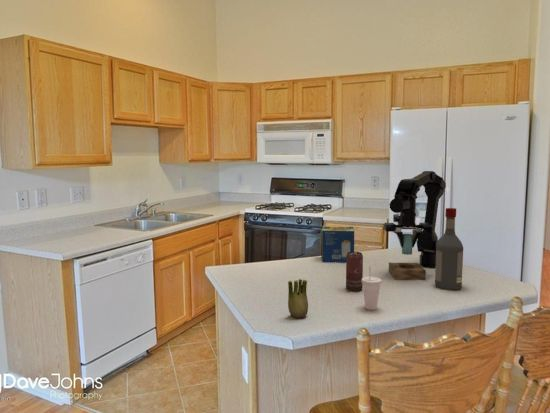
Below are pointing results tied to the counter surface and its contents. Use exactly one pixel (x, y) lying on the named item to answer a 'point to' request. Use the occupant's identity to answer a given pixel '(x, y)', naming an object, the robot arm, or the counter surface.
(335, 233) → the protein box
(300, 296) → the fennel bulb
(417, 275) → the socket block
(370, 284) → the smoothie
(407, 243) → the pin
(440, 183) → the robot arm
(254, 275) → the counter surface
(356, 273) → the can
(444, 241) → the liquor
